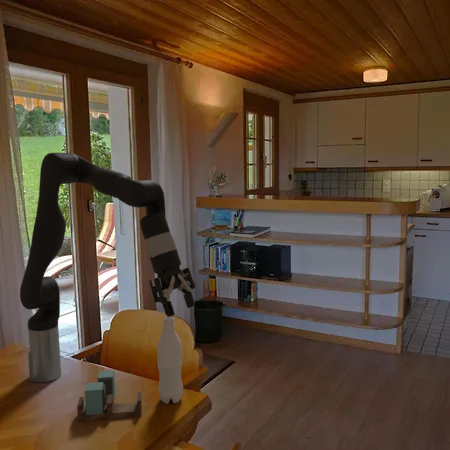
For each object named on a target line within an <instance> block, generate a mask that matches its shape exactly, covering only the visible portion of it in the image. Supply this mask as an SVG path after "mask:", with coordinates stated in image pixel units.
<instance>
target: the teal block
mask: <svg viewBox="0 0 450 450" xmlns="http://www.w3.org/2000/svg"><path fill="white" fill-rule="evenodd" d="M97 382H103V384H105V385H106V401H107V398H108V395H110V394H113V395H114V397H115V395H116V384H115V383H116V382H115V370H114V369H113V370H110V369H109V370H99V371H98V374H97Z"/></svg>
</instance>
